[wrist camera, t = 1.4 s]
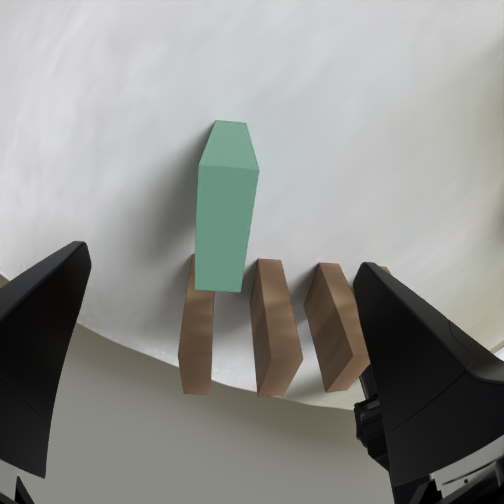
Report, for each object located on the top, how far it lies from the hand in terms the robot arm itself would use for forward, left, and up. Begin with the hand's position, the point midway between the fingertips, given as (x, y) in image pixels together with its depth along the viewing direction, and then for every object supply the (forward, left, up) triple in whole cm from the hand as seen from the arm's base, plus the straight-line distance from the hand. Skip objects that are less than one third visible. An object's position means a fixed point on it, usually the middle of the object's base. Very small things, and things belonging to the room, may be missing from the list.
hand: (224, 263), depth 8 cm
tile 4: (-10, -4, -10) cm, 15 cm away
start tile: (0, 0, -10) cm, 10 cm away
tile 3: (-10, -9, -10) cm, 17 cm away
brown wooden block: (-10, +1, -10) cm, 14 cm away
